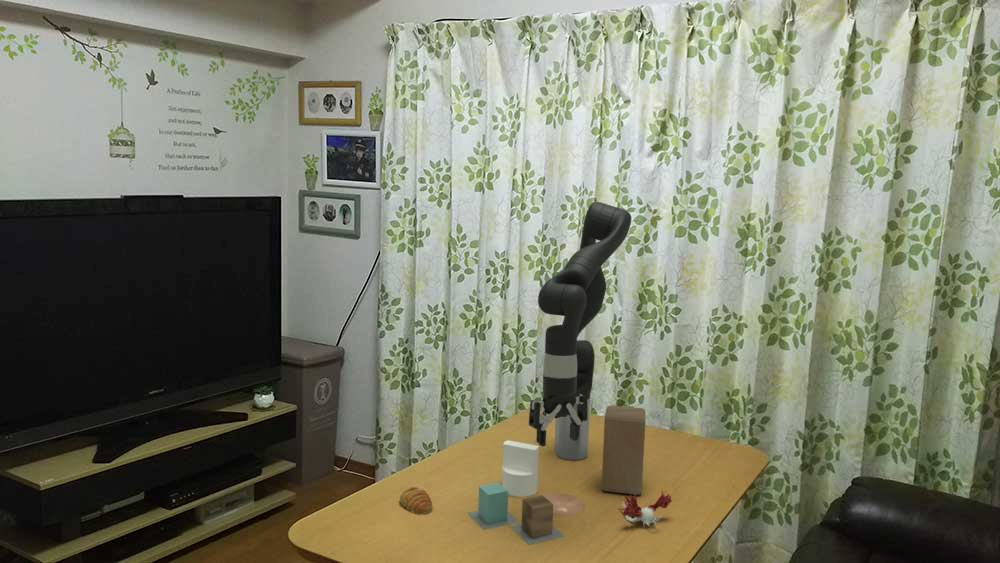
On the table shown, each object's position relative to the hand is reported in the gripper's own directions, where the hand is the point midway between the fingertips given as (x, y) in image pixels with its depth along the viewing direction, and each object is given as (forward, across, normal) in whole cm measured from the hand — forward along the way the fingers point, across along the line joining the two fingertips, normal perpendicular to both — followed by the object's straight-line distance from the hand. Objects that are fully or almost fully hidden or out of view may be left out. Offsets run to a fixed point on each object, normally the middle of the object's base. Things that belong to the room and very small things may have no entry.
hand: (557, 442), depth 162 cm
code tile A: (+19, +6, +2) cm, 20 cm away
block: (+19, -26, -9) cm, 33 cm away
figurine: (+19, -18, +8) cm, 28 cm away
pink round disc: (+19, -6, -6) cm, 21 cm away
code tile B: (+19, +12, -8) cm, 24 cm away
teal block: (+19, +12, -8) cm, 24 cm away
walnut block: (+19, +6, +2) cm, 20 cm away
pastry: (+19, +25, -21) cm, 38 cm away
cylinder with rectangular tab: (+19, -1, -18) cm, 26 cm away
